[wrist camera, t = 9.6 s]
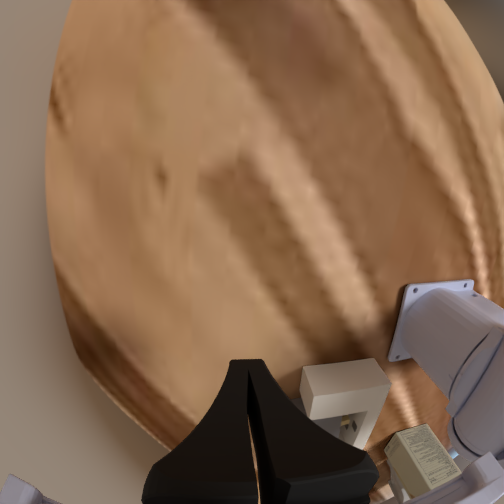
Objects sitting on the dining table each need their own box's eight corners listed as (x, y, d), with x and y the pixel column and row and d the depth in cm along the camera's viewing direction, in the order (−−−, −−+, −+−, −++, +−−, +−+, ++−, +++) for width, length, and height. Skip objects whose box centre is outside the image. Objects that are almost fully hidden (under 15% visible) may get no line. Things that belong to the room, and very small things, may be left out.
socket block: (373, 357, 24) (391, 383, 20) (345, 439, 27) (355, 463, 23) (303, 366, 23) (313, 396, 19) (288, 448, 27) (294, 474, 23)
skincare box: (382, 449, 29) (413, 513, 17) (394, 431, 28) (432, 497, 16) (415, 440, 30) (448, 495, 18) (428, 422, 29) (467, 478, 17)
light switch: (396, 454, 30) (415, 490, 23) (396, 478, 33) (410, 507, 26) (386, 459, 30) (404, 495, 23) (388, 482, 34) (401, 512, 26)
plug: (343, 387, 25) (354, 410, 21) (339, 418, 26) (348, 440, 23) (271, 400, 24) (275, 426, 21) (274, 430, 26) (278, 455, 22)
